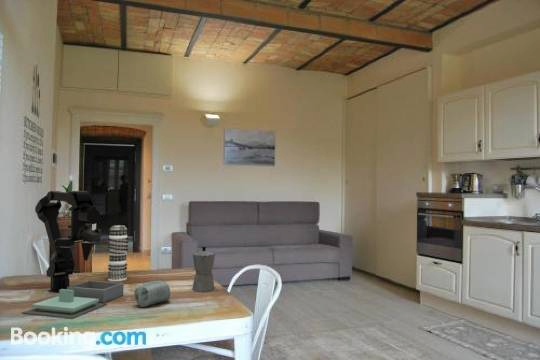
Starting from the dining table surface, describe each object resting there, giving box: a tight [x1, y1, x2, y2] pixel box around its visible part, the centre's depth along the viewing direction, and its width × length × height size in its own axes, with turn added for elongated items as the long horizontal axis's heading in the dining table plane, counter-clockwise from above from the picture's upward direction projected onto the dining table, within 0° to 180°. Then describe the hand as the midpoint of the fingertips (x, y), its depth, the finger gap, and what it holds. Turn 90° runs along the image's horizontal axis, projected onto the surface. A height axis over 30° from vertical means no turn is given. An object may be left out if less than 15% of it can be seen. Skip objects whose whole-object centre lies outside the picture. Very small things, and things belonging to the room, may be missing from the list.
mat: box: [21, 303, 108, 320], centre depth 142 cm, size 20×17×1 cm
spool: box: [134, 280, 171, 308], centre depth 150 cm, size 14×10×10 cm
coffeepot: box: [191, 246, 216, 293], centre depth 174 cm, size 15×9×18 cm, turn 13°
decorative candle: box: [107, 224, 130, 282], centre depth 192 cm, size 9×9×25 cm
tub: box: [67, 280, 125, 304], centre depth 157 cm, size 16×12×5 cm
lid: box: [31, 289, 99, 314], centre depth 142 cm, size 17×13×6 cm
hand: (77, 262), depth 162 cm, fingers open, 9 cm apart
